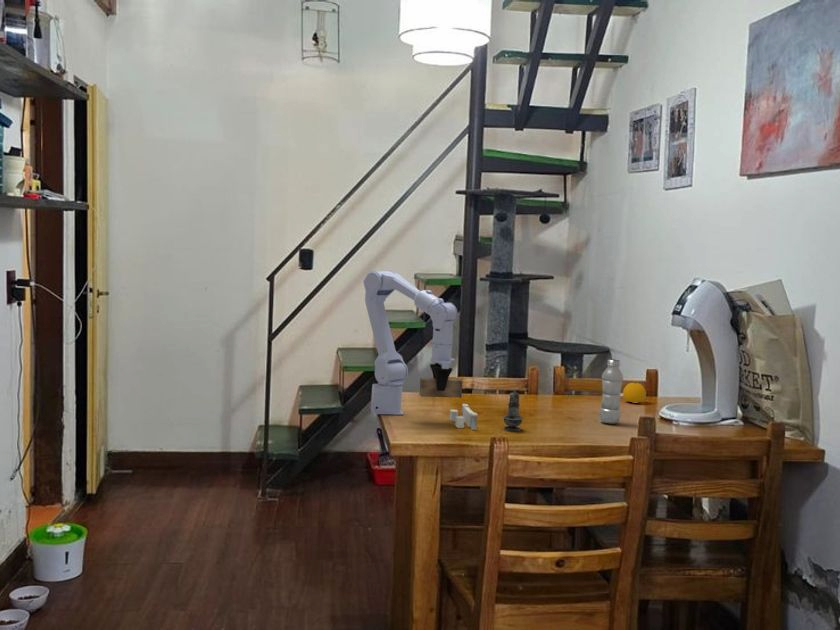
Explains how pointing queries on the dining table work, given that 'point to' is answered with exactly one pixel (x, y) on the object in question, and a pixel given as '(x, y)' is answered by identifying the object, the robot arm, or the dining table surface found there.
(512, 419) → the dark grey tall piece
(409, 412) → the dining table surface
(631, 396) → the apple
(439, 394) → the block
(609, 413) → the plastic bottle
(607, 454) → the dining table surface
